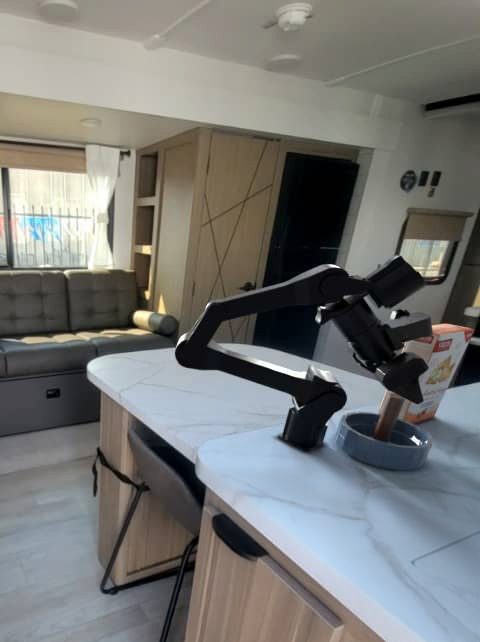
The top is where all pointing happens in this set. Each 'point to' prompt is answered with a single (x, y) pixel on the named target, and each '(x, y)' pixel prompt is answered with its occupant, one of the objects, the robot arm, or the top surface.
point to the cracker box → (434, 368)
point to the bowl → (400, 455)
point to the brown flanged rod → (388, 418)
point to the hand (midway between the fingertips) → (408, 392)
